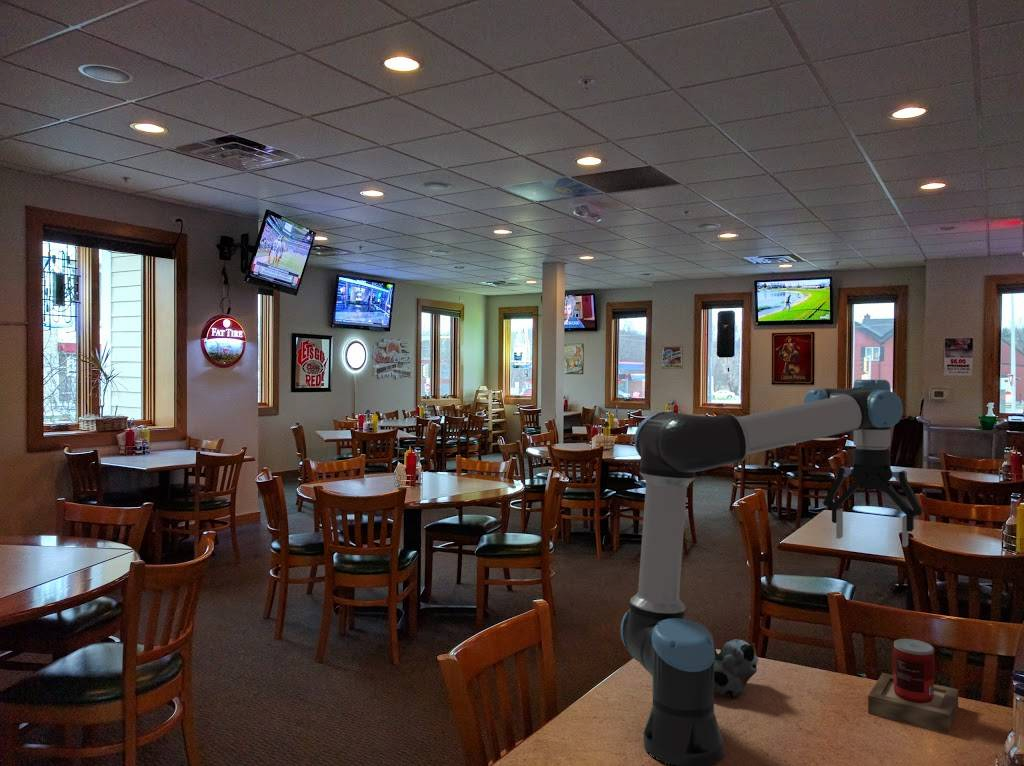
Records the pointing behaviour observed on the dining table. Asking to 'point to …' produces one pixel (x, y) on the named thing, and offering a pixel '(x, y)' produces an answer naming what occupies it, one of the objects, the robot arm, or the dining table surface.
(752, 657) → the lucky cat figurine
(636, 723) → the dining table surface
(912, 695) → the canned food
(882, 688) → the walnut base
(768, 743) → the dining table surface
